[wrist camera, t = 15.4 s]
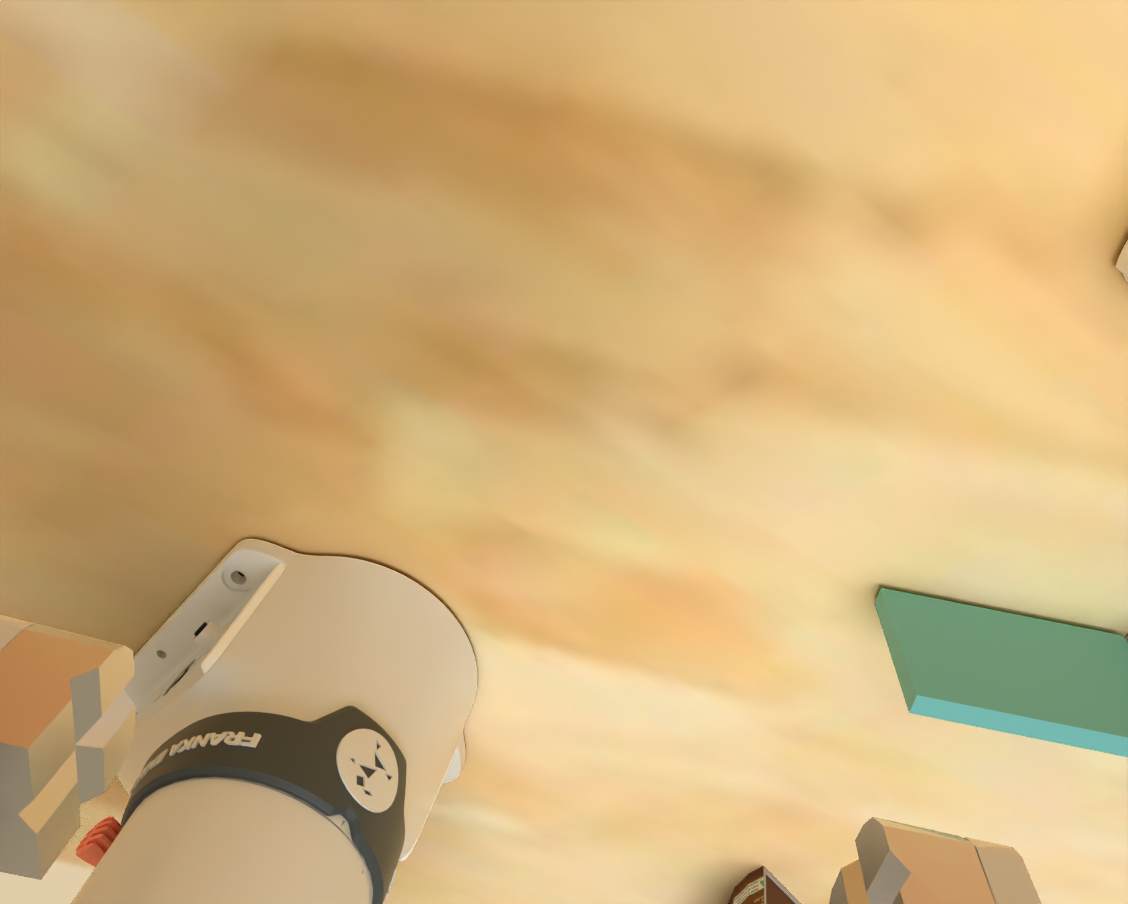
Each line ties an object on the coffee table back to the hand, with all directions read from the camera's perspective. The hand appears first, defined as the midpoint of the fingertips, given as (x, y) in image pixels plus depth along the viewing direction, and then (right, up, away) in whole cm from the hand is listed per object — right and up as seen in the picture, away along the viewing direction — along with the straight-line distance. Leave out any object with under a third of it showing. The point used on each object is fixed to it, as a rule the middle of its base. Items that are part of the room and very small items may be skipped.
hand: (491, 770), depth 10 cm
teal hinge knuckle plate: (+26, -6, +35) cm, 44 cm away
